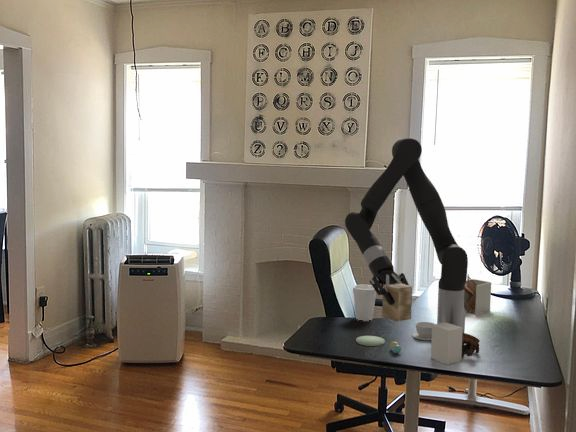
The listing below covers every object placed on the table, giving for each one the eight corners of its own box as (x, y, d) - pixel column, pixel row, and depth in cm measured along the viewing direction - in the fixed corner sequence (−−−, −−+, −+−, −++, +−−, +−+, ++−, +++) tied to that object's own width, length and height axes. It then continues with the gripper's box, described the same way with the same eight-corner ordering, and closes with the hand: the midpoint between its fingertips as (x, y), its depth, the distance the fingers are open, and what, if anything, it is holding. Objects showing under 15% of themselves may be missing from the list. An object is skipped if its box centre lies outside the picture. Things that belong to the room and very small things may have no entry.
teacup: (406, 337, 226) (407, 324, 225) (420, 331, 233) (420, 319, 233) (432, 343, 219) (432, 330, 219) (444, 337, 227) (445, 324, 227)
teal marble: (396, 351, 209) (397, 342, 209) (402, 354, 207) (403, 345, 206) (389, 353, 208) (390, 344, 207) (396, 355, 205) (396, 346, 205)
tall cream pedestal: (444, 354, 207) (445, 322, 205) (461, 361, 201) (462, 327, 199) (431, 357, 203) (432, 324, 202) (447, 364, 197) (449, 330, 196)
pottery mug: (442, 352, 210) (450, 330, 212) (466, 364, 212) (473, 341, 214) (460, 355, 199) (469, 330, 201) (485, 366, 200) (493, 342, 202)
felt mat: (372, 335, 227) (372, 334, 227) (390, 343, 218) (390, 341, 218) (350, 340, 221) (350, 338, 221) (368, 347, 213) (368, 346, 213)
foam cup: (375, 323, 243) (376, 290, 242) (351, 321, 245) (352, 289, 244) (376, 316, 253) (377, 285, 251) (353, 315, 254) (354, 284, 253)
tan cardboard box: (396, 314, 212) (397, 282, 211) (411, 319, 206) (412, 286, 205) (382, 316, 209) (383, 284, 208) (396, 321, 203) (398, 288, 202)
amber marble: (395, 348, 213) (395, 339, 212) (401, 350, 210) (401, 342, 210) (388, 349, 211) (388, 341, 211) (394, 352, 208) (394, 343, 208)
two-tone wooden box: (457, 311, 264) (458, 272, 263) (471, 307, 272) (473, 269, 270) (475, 315, 258) (477, 276, 256) (489, 311, 265) (491, 272, 263)
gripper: (366, 256, 208) (389, 299, 199) (399, 253, 216) (422, 293, 207) (356, 269, 213) (378, 311, 204) (388, 265, 221) (410, 306, 212)
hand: (400, 302), depth 206 cm, fingers closed on tan cardboard box, 6 cm apart
